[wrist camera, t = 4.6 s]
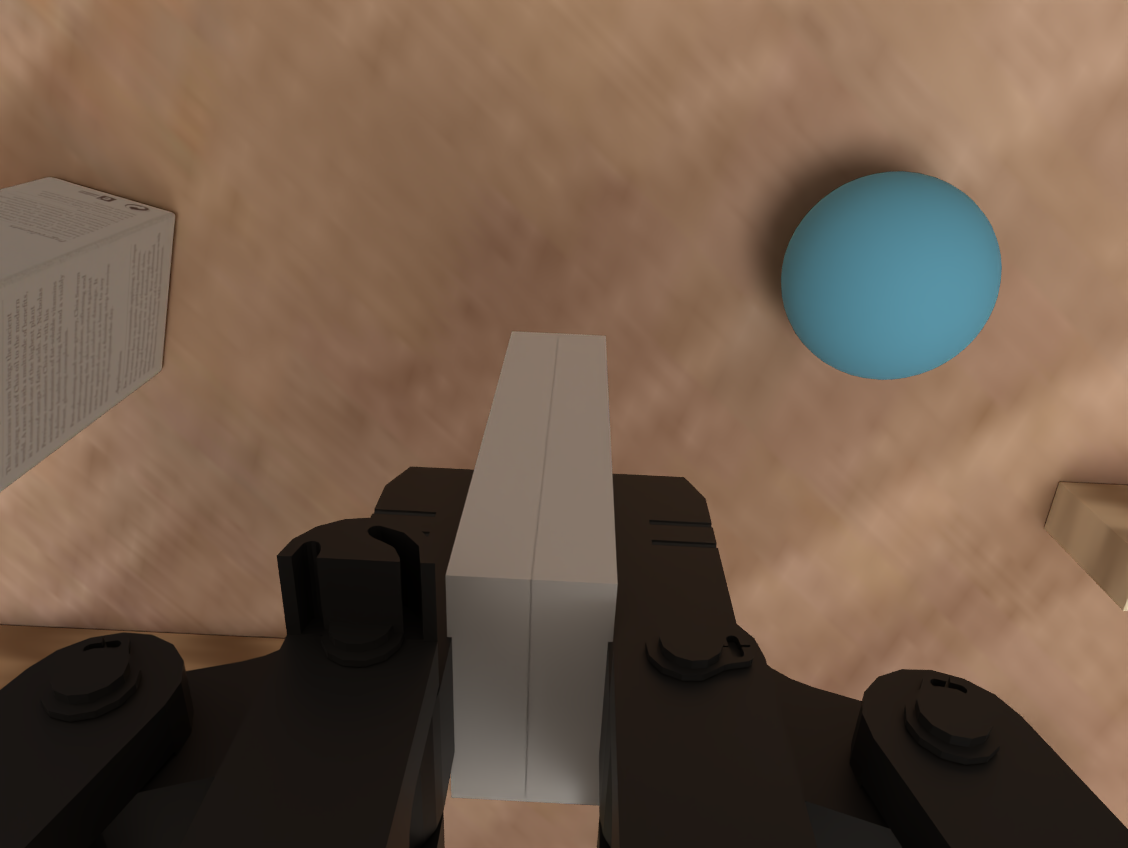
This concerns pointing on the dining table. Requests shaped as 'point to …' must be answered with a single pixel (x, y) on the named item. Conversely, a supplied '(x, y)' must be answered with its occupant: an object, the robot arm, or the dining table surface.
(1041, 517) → the dining table surface
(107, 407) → the skincare box
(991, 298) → the ball
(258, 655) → the crate
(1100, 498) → the bumper
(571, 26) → the dining table surface
